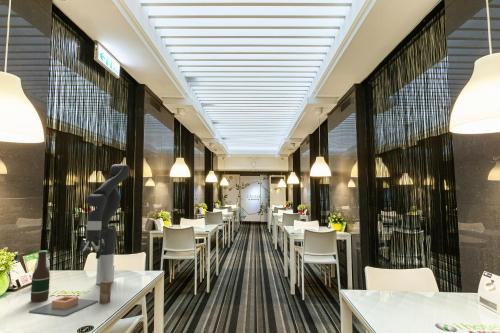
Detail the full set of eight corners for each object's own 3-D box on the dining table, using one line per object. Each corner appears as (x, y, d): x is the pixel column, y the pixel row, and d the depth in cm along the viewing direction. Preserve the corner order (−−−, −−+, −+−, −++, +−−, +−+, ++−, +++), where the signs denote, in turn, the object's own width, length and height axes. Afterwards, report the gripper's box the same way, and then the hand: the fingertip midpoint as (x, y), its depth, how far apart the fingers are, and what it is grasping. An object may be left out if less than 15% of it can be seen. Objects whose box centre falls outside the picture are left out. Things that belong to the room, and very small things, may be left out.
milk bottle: (29, 286, 182) (32, 251, 184) (41, 283, 190) (43, 249, 192) (40, 287, 180) (42, 252, 182) (51, 283, 188) (53, 250, 190)
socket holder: (65, 298, 160) (65, 291, 160) (98, 301, 155) (98, 294, 155) (28, 312, 141) (29, 304, 141) (64, 316, 136) (65, 307, 136)
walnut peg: (104, 301, 156) (105, 280, 157) (110, 301, 155) (111, 281, 156) (99, 303, 152) (100, 282, 154) (105, 304, 152) (106, 282, 153)
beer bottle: (32, 298, 160) (35, 251, 162) (50, 296, 163) (53, 250, 165) (28, 303, 153) (31, 253, 155) (46, 301, 156) (49, 252, 158)
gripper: (109, 229, 180) (106, 258, 178) (88, 228, 184) (85, 256, 181) (99, 229, 173) (97, 259, 171) (78, 229, 177) (75, 258, 174)
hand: (91, 258), depth 176 cm, fingers open, 8 cm apart
